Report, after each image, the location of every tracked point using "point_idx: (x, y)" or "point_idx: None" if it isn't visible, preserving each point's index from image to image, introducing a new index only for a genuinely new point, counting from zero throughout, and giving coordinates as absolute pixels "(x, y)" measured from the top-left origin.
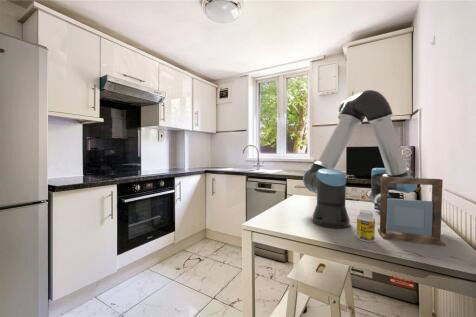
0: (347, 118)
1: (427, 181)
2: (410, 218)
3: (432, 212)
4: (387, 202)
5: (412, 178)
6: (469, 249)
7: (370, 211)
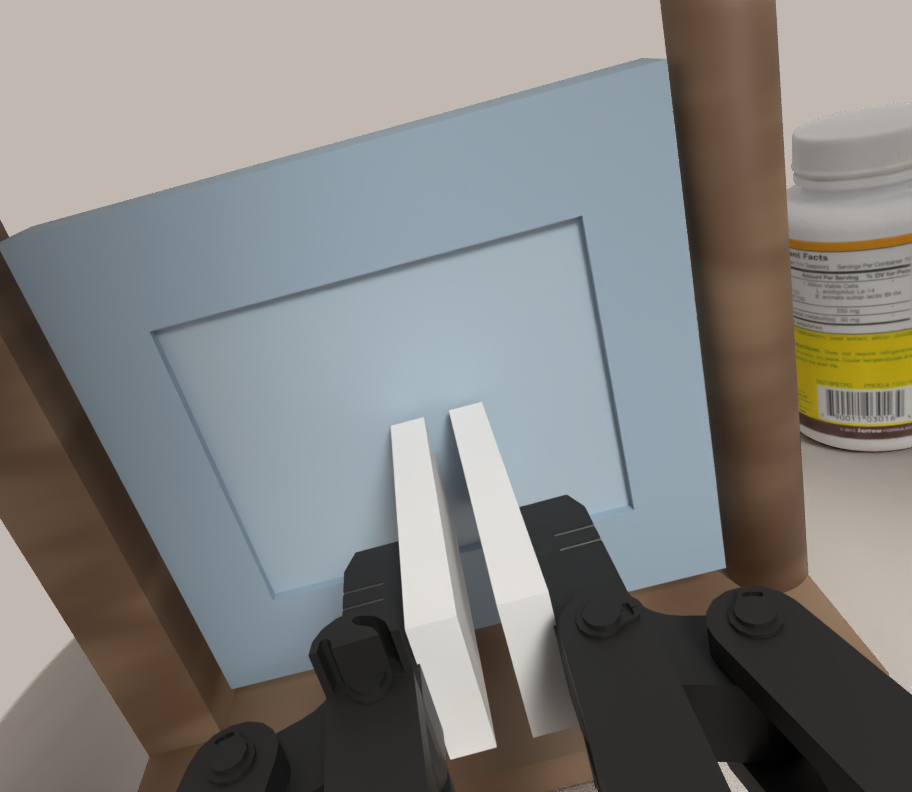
0: None
1: None
2: None
3: (73, 421)
4: (668, 140)
5: None
6: (30, 690)
7: (826, 135)
